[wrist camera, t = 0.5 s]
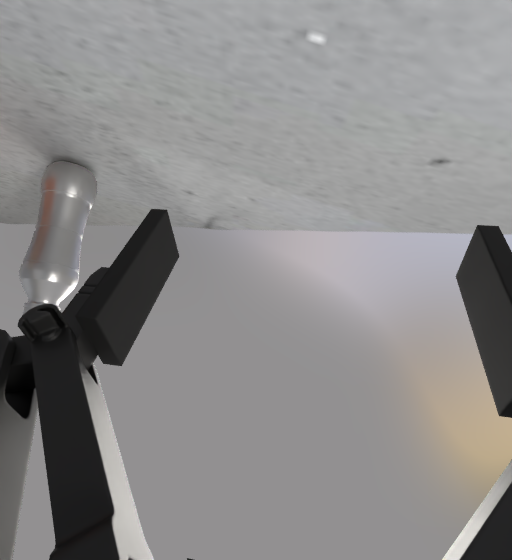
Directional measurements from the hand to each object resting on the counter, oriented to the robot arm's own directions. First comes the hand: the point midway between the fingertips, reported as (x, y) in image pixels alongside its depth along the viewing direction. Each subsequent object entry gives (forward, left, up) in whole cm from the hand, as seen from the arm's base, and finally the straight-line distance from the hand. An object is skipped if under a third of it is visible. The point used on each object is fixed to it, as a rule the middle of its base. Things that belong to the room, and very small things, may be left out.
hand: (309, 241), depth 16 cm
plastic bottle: (+19, -34, -17) cm, 43 cm away
